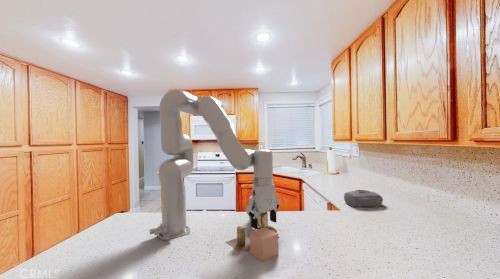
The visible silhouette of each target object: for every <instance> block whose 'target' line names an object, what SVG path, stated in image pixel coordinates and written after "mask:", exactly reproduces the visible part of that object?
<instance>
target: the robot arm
mask: <svg viewBox="0 0 500 279" xmlns="http://www.w3.org/2000/svg"><path fill="white" fill-rule="evenodd" d="M181 112H182V113H187V114H190V115H195V116H199V117H202V118H203V120H204V121H205V122H206V124H207V125H208V127H209V128H210V130H211V131H212V133H213V134H214V136H215V138H216V141H217V144H218V146H219V148H220V150H221V152H222V154H223V155H224V157H225V158H226V159H227V161H228V162H229V164H230V165H231V167H233V168H234V169H235V170H238V171H245V170H247V169H248V168H251V167H253V179H252V180H251V183H252V184H253V185H252V187H251V188H252V189H251V195H250V196H251V203H250V204H249V203H248V204H247V205H246V206H245V207H244V210H245V212H246V214H247V216H248V217H249V216H250V217H251V224H250V226H251V228H255V229H257V228H258V226H259V224H258V219H257V218H256V217H257V215H258V213H264V212H267V213H268V212H269V221H270V222H273V223H277V212H278V209H279V206H280V204H281V199H280V198H278V196H277V189H276V185H275V183H274V177H273V176H274V170H273V169H274V168H273V167H274V165H273V152H272V150H270V149H248V148H247V149H246V148H245V147H244V146H243V145H242V144H241V142H240V141H239V139H238V137H237V134H236V132H235V126H234V123H233V122H232V121H231V119H230V118H229V116H228V115H227V113H226V112H225V111H224V106H223V103H222V102H221V101H220V100H218V99H217V98H215V97H213V96H211V95H205V96H202V97H201V96H197V95H194V94H192V93H190V92H188V91H186V90H183V89H176V88H175V89H171V90H169V91H167V92H166V93H165V94H164V95H163V96H162V98H161V100H160V103H159V119H160V146H161V150H162V153H164V154H165V155H168V156H173V157H172V158H167V159H166V160H164V161H163V162H162V163H161V164H160V165H159V168H158V177H159V183H160V193H161V194H160V195H161V223H159V226H157V227H155V228H151V229H149V235H152V234H153V235H154V236H156V235H157V237H158V238H159V239H160V240H162V241H171V240H175V239H178V238H181V237H184V236H189V234H190V233H191V228H190V226H187V207H186V205H187V204H186V203H187V202H186V185H185V182H184V178H186V177H189V176H190V175H191V174H192V173H193V170H194V148H193V141H192V138H191V137H190V136H189V135H188V134H186V133H184V132H183V121H182V118H181ZM250 209H252V211H251V210H250ZM254 212H255V214H254Z"/></svg>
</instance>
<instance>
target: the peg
mask: <svg viewBox="0 0 500 279" xmlns="http://www.w3.org/2000/svg"><path fill="white" fill-rule="evenodd" d="M259 217H260V224H259V226H260V229H261V228H264V227H266V228H268V225H269V218H268V211H267V212H264V213H259Z"/></svg>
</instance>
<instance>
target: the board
mask: <svg viewBox="0 0 500 279" xmlns="http://www.w3.org/2000/svg"><path fill="white" fill-rule="evenodd" d="M259 229H260V225H258V228H257V229H255V228H253V227H251V232H253V231H256V230H259ZM268 229H270V230H272V231H274V232H276V233H278V229H277V228H275V227H273V226H270V225H269V224H268ZM279 238H280V236H278V239H279ZM225 243H226V244H228V245H229V246H231V247H232V248H233V249H234V250H236V251H237V252H239V254H244V253H245V252H248V251H250V233H248V234H247V233H246V227H245V226H243V225H238V226H237V227H236V238H234V239H231V240H227V241H225Z"/></svg>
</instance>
